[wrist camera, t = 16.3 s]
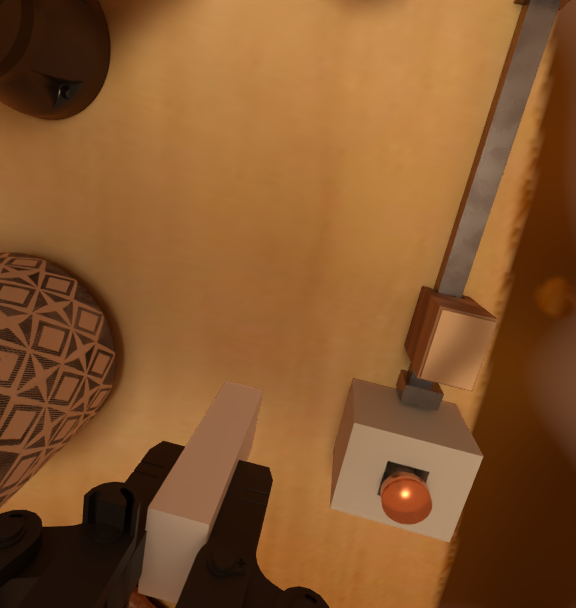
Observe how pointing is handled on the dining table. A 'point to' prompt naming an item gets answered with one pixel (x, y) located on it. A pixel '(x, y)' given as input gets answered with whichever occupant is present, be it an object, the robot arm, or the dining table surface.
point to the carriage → (449, 339)
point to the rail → (488, 170)
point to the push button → (405, 495)
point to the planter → (46, 364)
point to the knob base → (402, 456)
